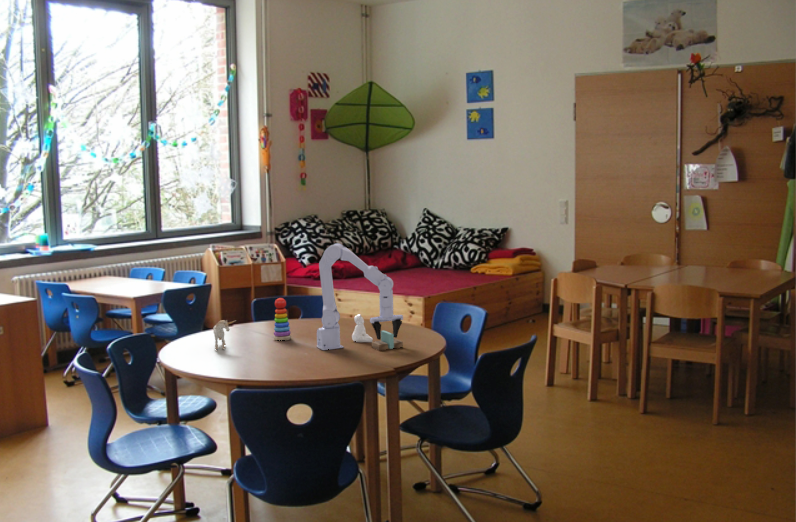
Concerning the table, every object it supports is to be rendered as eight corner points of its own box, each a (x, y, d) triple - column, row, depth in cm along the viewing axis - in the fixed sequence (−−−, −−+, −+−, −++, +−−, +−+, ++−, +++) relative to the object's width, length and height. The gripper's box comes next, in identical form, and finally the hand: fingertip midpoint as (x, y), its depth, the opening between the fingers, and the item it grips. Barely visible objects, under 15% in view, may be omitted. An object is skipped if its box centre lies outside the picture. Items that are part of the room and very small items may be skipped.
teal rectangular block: (390, 348, 313) (390, 334, 313) (381, 344, 321) (380, 330, 321) (393, 348, 314) (393, 334, 313) (384, 344, 322) (384, 330, 321)
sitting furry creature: (373, 342, 329) (373, 315, 327) (354, 344, 326) (353, 316, 325) (368, 338, 338) (367, 311, 336) (349, 339, 335) (348, 313, 334)
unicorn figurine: (221, 354, 313) (219, 322, 311) (205, 346, 329) (203, 315, 327) (237, 351, 316) (236, 320, 315) (221, 343, 333) (219, 313, 331)
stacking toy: (293, 337, 342) (291, 296, 340) (289, 341, 334) (287, 299, 332) (276, 337, 343) (274, 296, 341) (271, 341, 335) (269, 299, 333)
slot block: (378, 350, 312) (378, 344, 312) (371, 347, 318) (371, 341, 318) (403, 347, 317) (402, 341, 317) (395, 344, 323) (395, 338, 323)
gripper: (374, 309, 309) (375, 341, 311) (406, 306, 315) (406, 338, 317) (367, 306, 315) (368, 338, 317) (398, 303, 322) (399, 335, 323)
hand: (387, 338), depth 317 cm, fingers open, 7 cm apart
